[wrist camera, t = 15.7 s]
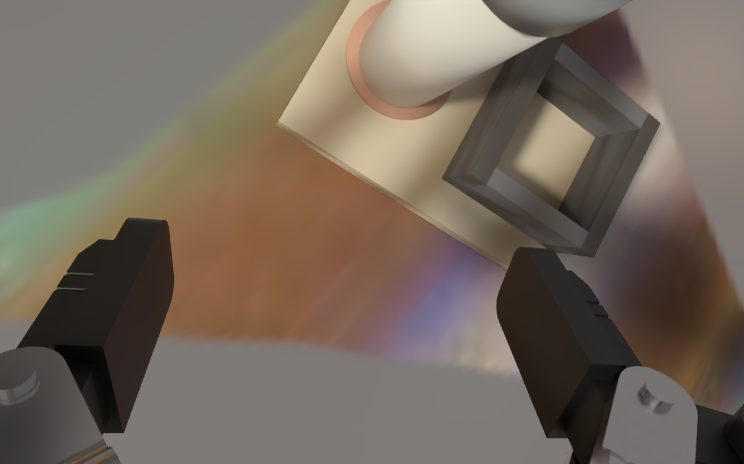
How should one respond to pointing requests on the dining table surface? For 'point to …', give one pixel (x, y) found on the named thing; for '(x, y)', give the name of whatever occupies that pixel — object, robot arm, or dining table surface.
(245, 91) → the dining table surface
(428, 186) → the socket board
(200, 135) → the dining table surface
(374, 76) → the cylinder
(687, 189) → the dining table surface
